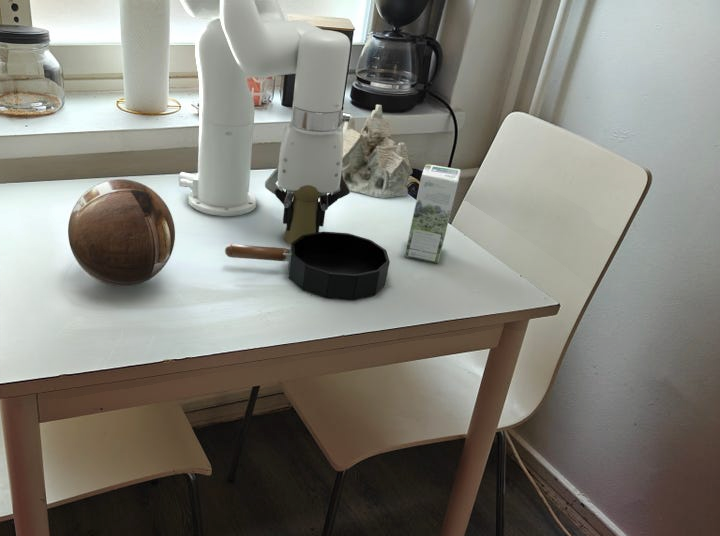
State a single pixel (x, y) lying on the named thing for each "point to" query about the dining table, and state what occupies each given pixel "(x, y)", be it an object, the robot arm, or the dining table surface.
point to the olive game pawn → (303, 213)
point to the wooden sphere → (121, 232)
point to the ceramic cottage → (374, 158)
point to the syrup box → (432, 212)
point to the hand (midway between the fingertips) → (302, 227)
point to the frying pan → (327, 264)
